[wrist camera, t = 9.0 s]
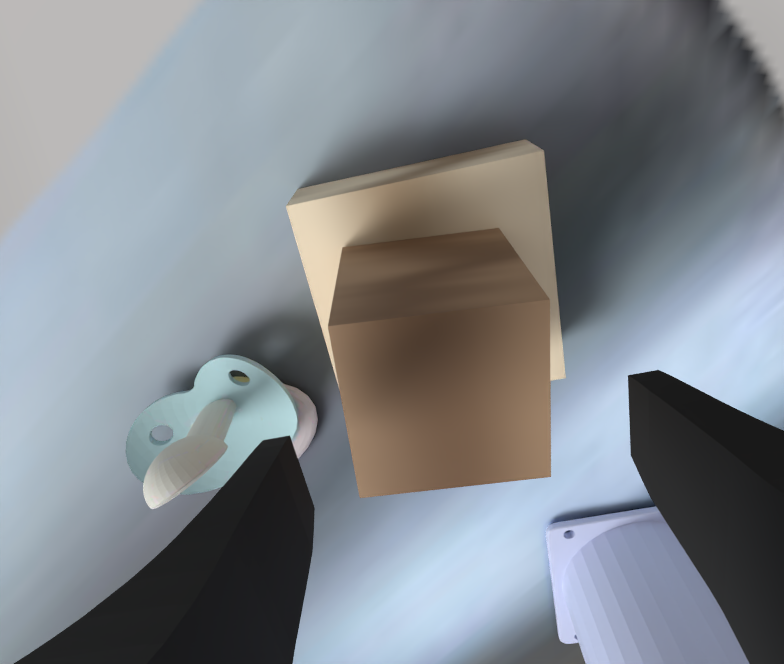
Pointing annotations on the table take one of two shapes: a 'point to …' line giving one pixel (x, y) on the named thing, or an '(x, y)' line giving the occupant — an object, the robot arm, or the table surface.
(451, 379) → the walnut cube
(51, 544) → the table surface
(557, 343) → the maple block
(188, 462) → the pacifier
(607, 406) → the table surface
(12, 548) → the table surface
